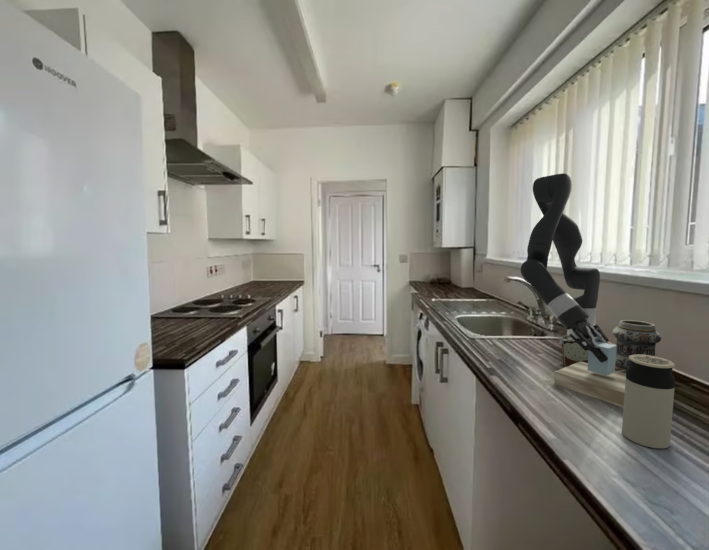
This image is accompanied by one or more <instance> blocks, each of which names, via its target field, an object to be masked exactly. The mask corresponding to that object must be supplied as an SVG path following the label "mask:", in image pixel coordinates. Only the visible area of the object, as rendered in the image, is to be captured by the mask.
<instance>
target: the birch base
mask: <svg viewBox="0 0 709 550" xmlns="http://www.w3.org/2000/svg"><path fill="white" fill-rule="evenodd" d="M587 369H588V363H585V362H581V361H580V362H578V363H575V364H573V365H570V366H567V367H563V368H560V369H558V370H555V371H554V380H553V381H554V382H553V383H554V385H556V386H559V387H562V388H565V389H567V390H571V391H573V392H576V393H579V394H582V395H585V396H589V397H591V398H594V399H597V400H600V401H603V402H606V403H609V404H611V405H615V406H618V407H620V408H623V409H624V395H625V381H626V373H622V372H618V371H619V370H615V372H614V373H612V374H610V375H607V376H606V375H603V374H599V373H596V372H592V371H589V370H587Z"/></svg>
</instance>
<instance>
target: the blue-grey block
mask: <svg viewBox="0 0 709 550" xmlns="http://www.w3.org/2000/svg"><path fill="white" fill-rule="evenodd" d="M595 343H596V344H597V346H598V348H600V350H601V351H602V352H603V353H604V354H605V355H606V356H607V358H608V360H606V361H605V362H600V361H599V360H598V359H597V358H596V356H595V355H594V354H593V353H592V352H590V351H589V353H588V369H587V370H589V371H592V372H596V373H599V374H603V375H606V376H607V375H610V374H612V373H614V372H615V371H616V364H615V361H616V347H617V344H612V343H603V342H598V341H596V342H595Z"/></svg>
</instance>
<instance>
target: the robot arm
mask: <svg viewBox="0 0 709 550" xmlns="http://www.w3.org/2000/svg"><path fill="white" fill-rule="evenodd" d="M572 186H573V184H572V179H571V177H570V176H569V174H567V173H557V174H551V175H546V176H545V175H544V176H542V177H538V178H536V179H535V180H534V181H533V184H532V193H533V197H534V199H535V202H536V204H537V206H538V207H539V210H540V212H541V213H542V215H543V216H542V217H541V218H540V219H539V221H537V223H536V224H535V226H534V227H532V228H533V229H532V231H531V233H530V236H529V240H528V244H527V248H526V252H527V257H526V260H525V261H524V262H523V263H522V264H521V266H520V274H521V276H522V278H523V280H524V281H525V282H526V283H527V284H530V285H531V286H532V288H533V289H534V290H535V291H536V294H538V297H540V299H541V300H542V302H543V303H544V304H545V306H547V308H548V309H549V311H550V312H551V314H553V315H554V317H555V318H556V319H557V321H558V322H560V324H561V325H562V327H564V328H565V330H567V331H566V335H570V337H571V338H572V339H573V340H574V341H576V342H577V343H578V344H579V345H580V346H581V347H582V348H583V349H584V350H585V351H587V350H589V351H590V352H592V353H593V354H594V355H595V356H596V358H597V359H598V360H599V361H600V362H605V361H606V360H608V358H607V356H606V355H605V354H604V353H603V352H602V351H601V350H600V348H598V346H597V344H596V343H595V342H596V341H598V342H603V343H608V342H609V341H610V339H608V337H607V335H606V334H605V332H603V330H602V329H601V328H600V326H599V325H598V324H596V318H597V317H596V316H597V303H598V298H599V292H600V291H599V290H600V282H601V274H600V271H599V269H598V268H597V267H591V266H589V267H587V266H578V265H577V264H576V261H575V259H576V256H577V254H578V253H579V251H580V249H581V247H582V244H583V237H582V234H581V230H580V227H579V225H578V223H577V222H576V221H575V220H573V219H572V218H571V217H570V216H568V215H567V214H566V213H565V212H564V211H565V208H566V205H567V203H568V201H569V199H570V196H571V192H572V188H573V187H572ZM553 244H554V245H553ZM552 245H553V246H555V247H554V248H555V249H556V252H557V256H558V258H559V262H560V264H561V269H562V272H563V277H564V281H565V283H566V285H567V287H569V288H570V289H573V290H582V291H583V294H582V295H579V296H575V297H572V296H571V295H570V294H569V293H568V292H567V291H566V290H565V289H564V288H563V287H562V286H561V285H560V284H559V283H558V282H557V281H556V279H554V277H553V276H552V274H551V273H550V272H549V270H548V263H549V257H550V252H551V249H552ZM608 344H609V343H608ZM616 356H617V355H616Z"/></svg>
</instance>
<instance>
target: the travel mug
mask: <svg viewBox="0 0 709 550" xmlns="http://www.w3.org/2000/svg"><path fill="white" fill-rule="evenodd" d="M629 359H630V363H631V365H630V366H629V367H628V368H627V370H626V369H625V370H626V381H625V395H624V408H623V411H622V412H623V413H622V423H621V424H622V426H621V433H622V434H623V435H624V437H626V439H628V440H630V441H632V442H633V443H636V444H637V445H641V446H643V447H647V448H652V449H667V448H669V447H670V444H671V435H672V422H673V421H672V420H673V411H674V400H675V399H674V398H675V387H676V378H675V377H674V374H673V373H672V371H673V368H675V366H676V364H675V363H674V362H673V361H671V360H669V359H666V358H663V357H660V356H656V355H655V356H650V355H640V354H635V355H630V356H629Z"/></svg>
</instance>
